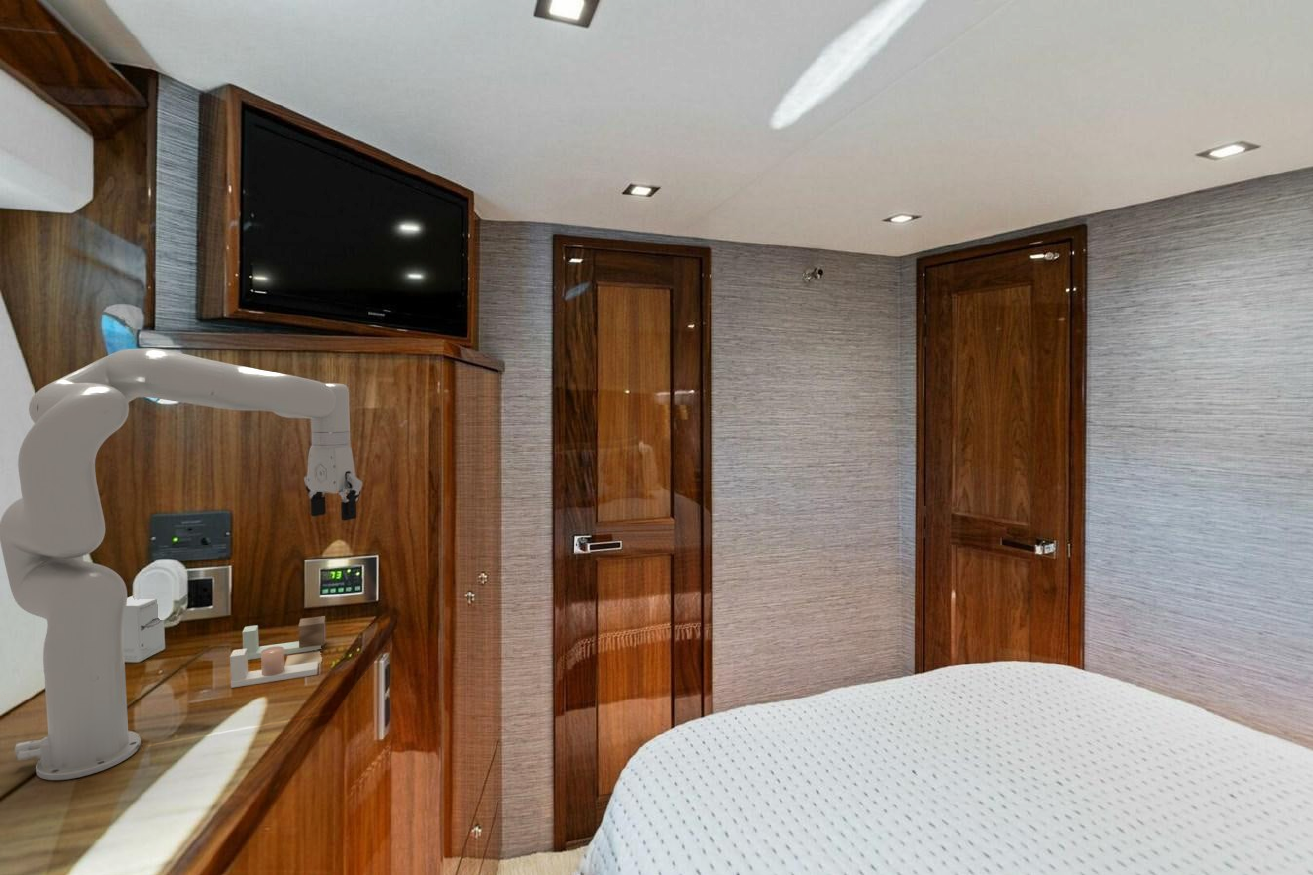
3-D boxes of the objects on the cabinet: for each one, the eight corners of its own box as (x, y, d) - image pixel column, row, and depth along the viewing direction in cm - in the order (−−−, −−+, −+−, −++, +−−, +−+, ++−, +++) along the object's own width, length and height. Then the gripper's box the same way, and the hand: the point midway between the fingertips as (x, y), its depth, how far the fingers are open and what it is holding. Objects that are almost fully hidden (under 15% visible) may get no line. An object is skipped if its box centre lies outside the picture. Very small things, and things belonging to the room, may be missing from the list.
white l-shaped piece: (243, 660, 139) (242, 632, 138) (246, 653, 142) (245, 626, 142) (321, 649, 145) (320, 622, 145) (322, 643, 149) (321, 617, 148)
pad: (283, 669, 135) (283, 668, 135) (287, 657, 141) (287, 655, 141) (321, 664, 137) (321, 662, 137) (323, 651, 144) (323, 650, 144)
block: (299, 648, 143) (298, 626, 142) (301, 640, 147) (300, 618, 147) (324, 644, 145) (323, 623, 144) (325, 636, 149) (325, 615, 149)
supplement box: (140, 663, 138) (137, 605, 137) (106, 662, 138) (103, 605, 138) (166, 649, 146) (164, 594, 145) (134, 648, 146) (132, 594, 145)
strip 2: (230, 687, 126) (229, 657, 126) (234, 679, 130) (233, 649, 129) (316, 674, 132) (316, 645, 132) (318, 666, 136) (317, 638, 135)
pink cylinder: (260, 677, 128) (259, 655, 128) (263, 669, 132) (262, 648, 131) (283, 673, 130) (282, 652, 129) (285, 666, 133) (284, 645, 133)
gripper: (289, 439, 140) (291, 516, 141) (343, 442, 133) (345, 524, 134) (320, 437, 147) (322, 511, 148) (373, 440, 139) (375, 518, 141)
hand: (333, 517), depth 141 cm, fingers open, 9 cm apart
